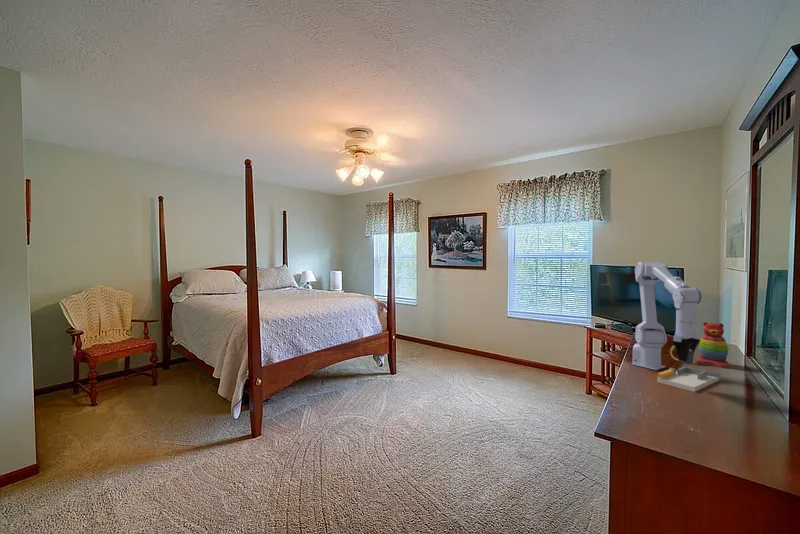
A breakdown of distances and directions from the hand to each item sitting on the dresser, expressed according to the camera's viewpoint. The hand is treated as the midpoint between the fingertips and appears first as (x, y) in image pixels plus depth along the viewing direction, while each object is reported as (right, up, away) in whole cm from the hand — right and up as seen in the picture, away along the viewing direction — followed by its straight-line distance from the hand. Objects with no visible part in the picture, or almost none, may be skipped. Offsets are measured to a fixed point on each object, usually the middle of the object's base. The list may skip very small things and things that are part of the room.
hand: (685, 359), depth 124 cm
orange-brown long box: (-2, -7, +6) cm, 10 cm away
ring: (+23, -9, +31) cm, 39 cm away
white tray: (+5, -9, +5) cm, 12 cm away
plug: (0, -1, 0) cm, 1 cm away
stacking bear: (+34, -9, +27) cm, 44 cm away
